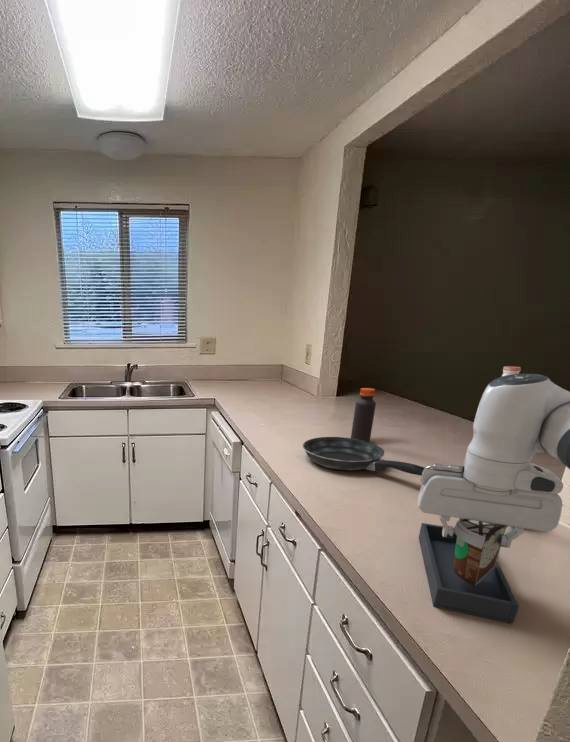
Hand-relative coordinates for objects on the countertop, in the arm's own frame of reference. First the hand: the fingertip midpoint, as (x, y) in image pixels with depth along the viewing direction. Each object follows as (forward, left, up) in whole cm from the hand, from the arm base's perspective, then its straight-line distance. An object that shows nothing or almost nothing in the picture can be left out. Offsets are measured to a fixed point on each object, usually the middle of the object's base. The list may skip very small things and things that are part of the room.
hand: (474, 540), depth 79 cm
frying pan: (+19, -58, -10) cm, 62 cm away
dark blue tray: (0, -4, -10) cm, 11 cm away
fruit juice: (-26, -103, -10) cm, 107 cm away
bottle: (+19, -88, -10) cm, 91 cm away
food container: (0, 0, -6) cm, 6 cm away
